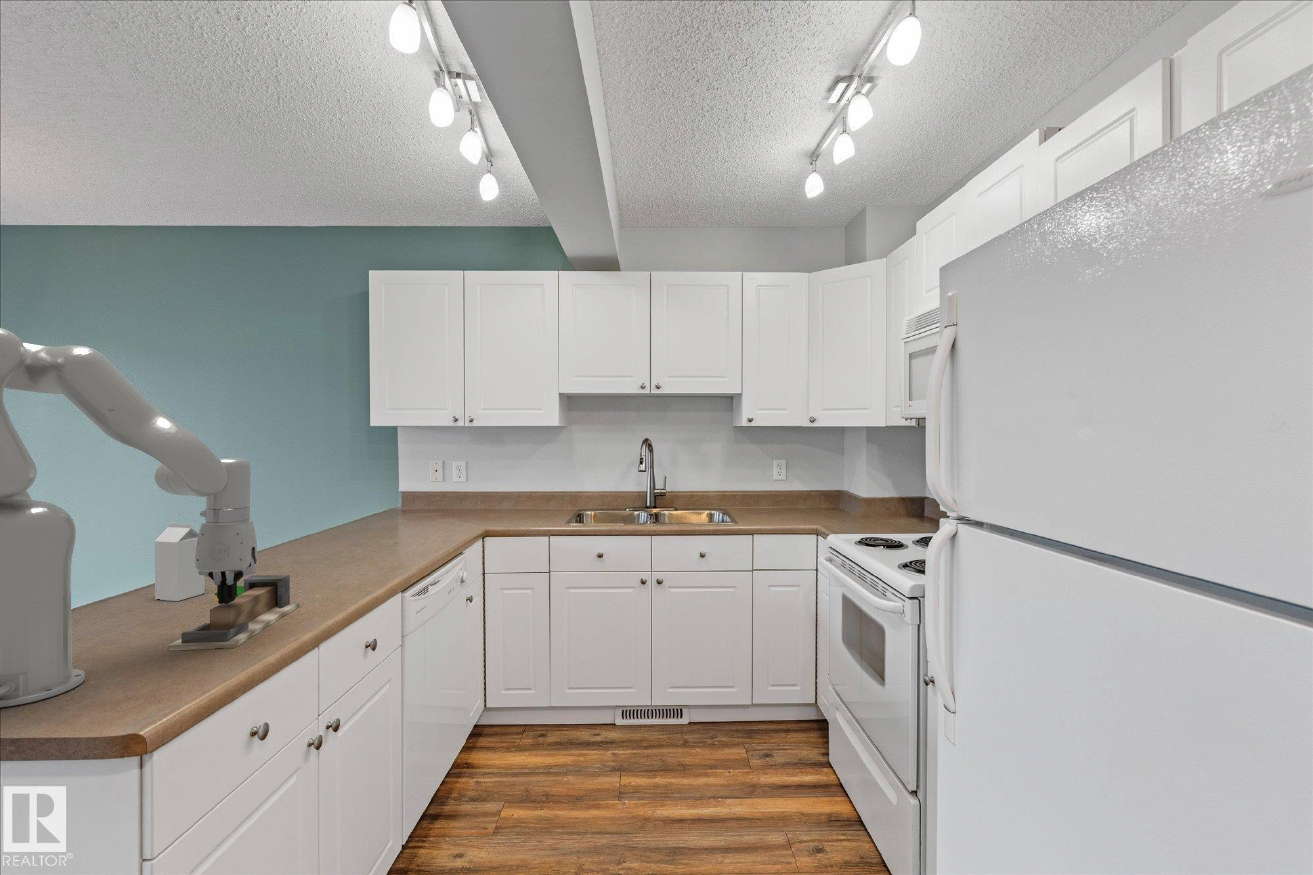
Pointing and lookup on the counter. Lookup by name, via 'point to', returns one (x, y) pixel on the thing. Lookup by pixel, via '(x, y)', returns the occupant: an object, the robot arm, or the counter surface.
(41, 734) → the counter surface
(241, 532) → the robot arm
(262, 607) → the walnut slat
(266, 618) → the end cap board
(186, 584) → the milk carton
